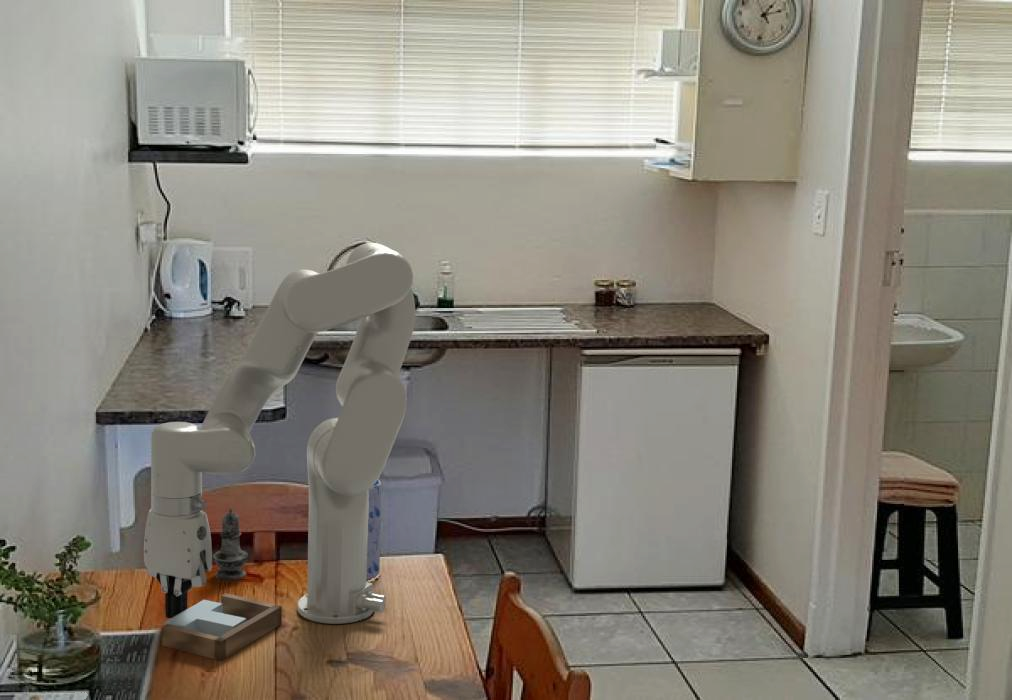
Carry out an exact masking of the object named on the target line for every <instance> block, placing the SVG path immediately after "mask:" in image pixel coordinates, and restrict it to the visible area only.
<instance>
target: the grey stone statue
mask: <svg viewBox="0 0 1012 700" xmlns="http://www.w3.org/2000/svg"><path fill="white" fill-rule="evenodd" d="M221 522H222V526H221V527H222V529H221V530H222V532H220V533H219V536H220V537H221V546H220V547H221V548H220V550H218V551H216V552H215V553H213V554H212V558H213V559H214V562H215V564H216V566H217V568H218V569H219V570H217V571H216V572H215V573H214V577H215V578H216V579H218V578H219V579H218V580H221V579H223V581H236V580H241V579H242V578H244V577H246V576H247V571H245V570H243V569H242V568H243V566H245V563H246V561H247V558H248V557H249V556H248V555H249V554H248V552H247V551H245V550H243V549H241V546H240V537H241V536H242V532H240V517H239V515H238V514H237V513H235V512H233V509H232V508H229V509H228V513H225V514H224V515H223V516H222V521H221Z"/></svg>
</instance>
